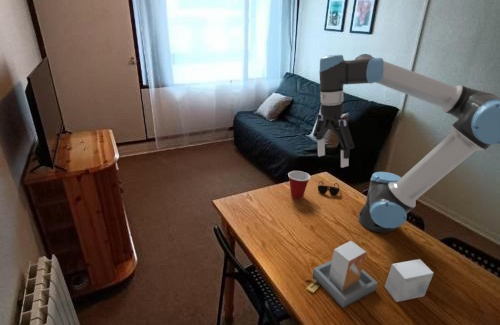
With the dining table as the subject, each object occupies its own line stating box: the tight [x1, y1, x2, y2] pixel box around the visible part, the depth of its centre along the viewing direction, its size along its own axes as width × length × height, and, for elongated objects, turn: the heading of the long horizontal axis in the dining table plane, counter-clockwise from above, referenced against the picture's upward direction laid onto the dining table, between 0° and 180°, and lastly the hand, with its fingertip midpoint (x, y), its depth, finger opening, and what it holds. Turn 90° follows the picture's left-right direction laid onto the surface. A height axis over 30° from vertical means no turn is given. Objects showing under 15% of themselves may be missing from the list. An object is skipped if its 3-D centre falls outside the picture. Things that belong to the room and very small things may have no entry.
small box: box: [329, 240, 367, 291], centre depth 96 cm, size 8×6×13 cm
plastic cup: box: [287, 170, 311, 200], centre depth 145 cm, size 11×11×12 cm
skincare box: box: [384, 258, 434, 303], centre depth 94 cm, size 10×6×10 cm, turn 103°
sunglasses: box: [317, 180, 340, 196], centre depth 154 cm, size 10×12×5 cm
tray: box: [312, 259, 379, 309], centre depth 99 cm, size 14×14×4 cm
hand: (332, 160), depth 110 cm, fingers open, 13 cm apart
